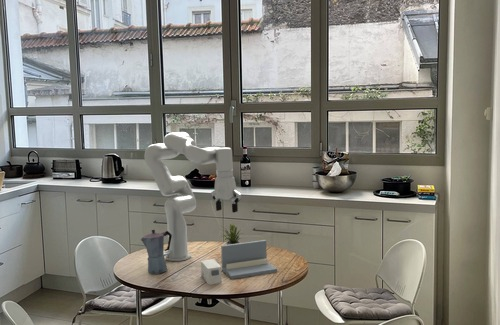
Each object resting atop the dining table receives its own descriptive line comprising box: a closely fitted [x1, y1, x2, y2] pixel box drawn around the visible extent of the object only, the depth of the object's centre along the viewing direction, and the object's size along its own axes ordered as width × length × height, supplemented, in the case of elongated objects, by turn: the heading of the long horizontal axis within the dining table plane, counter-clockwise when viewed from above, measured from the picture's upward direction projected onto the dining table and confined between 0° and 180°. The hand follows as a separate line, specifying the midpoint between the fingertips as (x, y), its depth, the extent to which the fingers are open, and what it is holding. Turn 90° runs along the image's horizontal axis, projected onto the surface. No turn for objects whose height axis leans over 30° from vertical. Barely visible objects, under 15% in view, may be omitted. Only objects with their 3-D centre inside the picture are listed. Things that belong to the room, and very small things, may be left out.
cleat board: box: [220, 239, 278, 280], centre depth 217 cm, size 22×14×12 cm, turn 110°
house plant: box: [220, 222, 244, 245], centre depth 244 cm, size 14×14×16 cm
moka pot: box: [140, 229, 172, 275], centre depth 220 cm, size 10×15×20 cm, turn 130°
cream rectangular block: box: [200, 258, 223, 285], centre depth 208 cm, size 6×13×7 cm, turn 20°
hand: (226, 211), depth 218 cm, fingers open, 9 cm apart
